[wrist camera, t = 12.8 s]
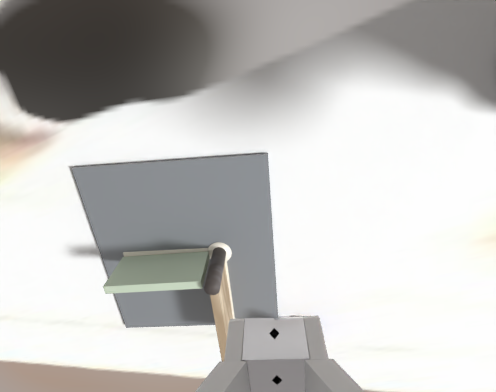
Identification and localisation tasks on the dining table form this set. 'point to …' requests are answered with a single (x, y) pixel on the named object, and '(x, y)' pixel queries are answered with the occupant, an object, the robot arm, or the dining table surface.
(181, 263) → the folding panel
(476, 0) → the dining table surface
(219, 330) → the panel
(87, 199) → the board
